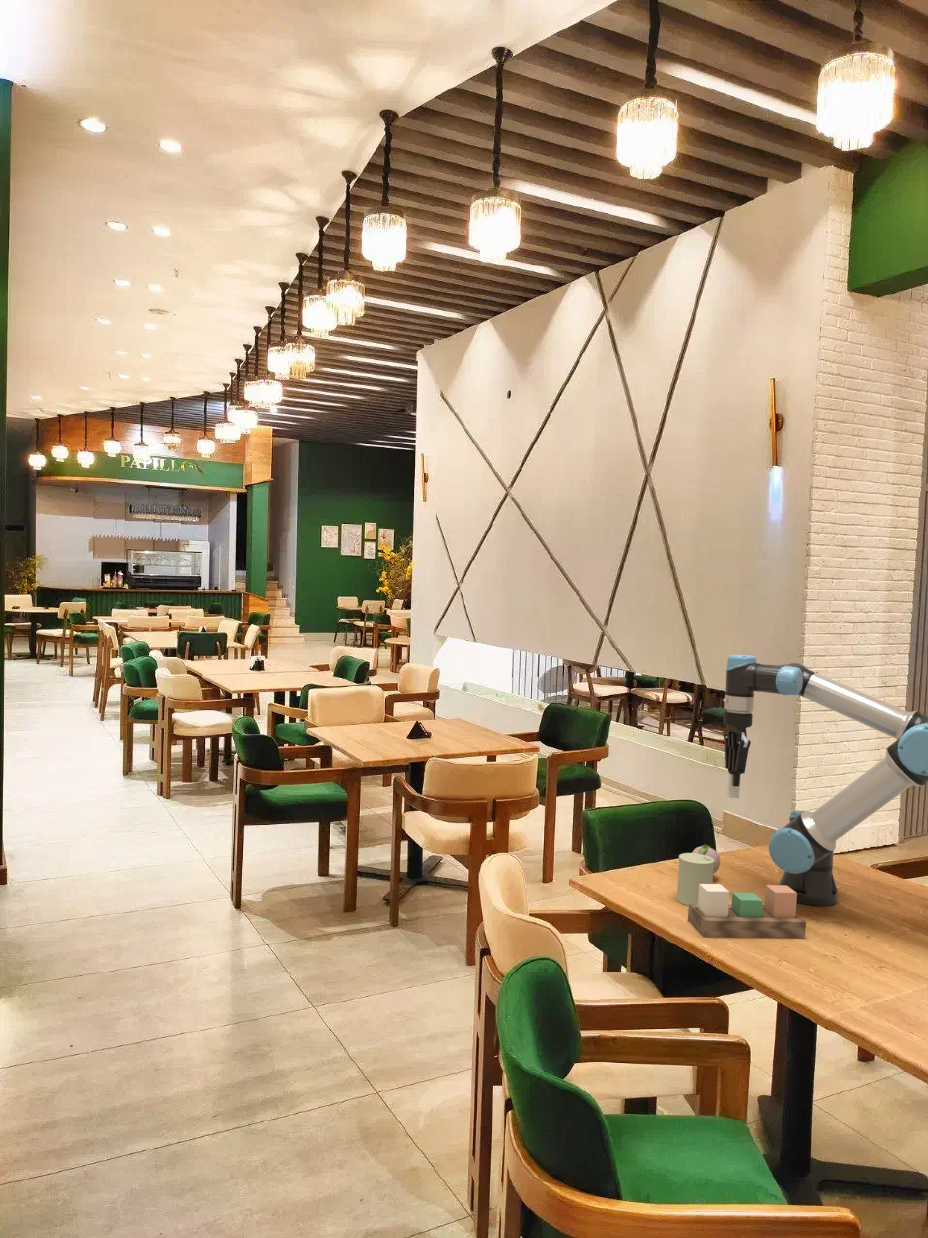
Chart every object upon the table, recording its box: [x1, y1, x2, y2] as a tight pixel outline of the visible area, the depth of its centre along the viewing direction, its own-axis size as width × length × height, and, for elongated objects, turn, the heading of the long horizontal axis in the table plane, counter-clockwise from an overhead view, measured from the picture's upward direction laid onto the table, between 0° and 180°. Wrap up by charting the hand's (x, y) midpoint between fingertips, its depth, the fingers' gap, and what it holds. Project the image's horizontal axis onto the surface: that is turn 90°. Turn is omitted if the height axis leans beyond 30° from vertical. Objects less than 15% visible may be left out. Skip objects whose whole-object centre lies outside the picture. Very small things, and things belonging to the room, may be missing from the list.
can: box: [675, 852, 714, 907], centre depth 234 cm, size 9×9×12 cm
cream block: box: [698, 883, 730, 917], centre depth 215 cm, size 5×5×7 cm
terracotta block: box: [764, 884, 797, 918], centre depth 216 cm, size 5×5×7 cm
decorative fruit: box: [691, 843, 721, 875], centre depth 254 cm, size 9×8×10 cm
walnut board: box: [687, 904, 807, 939], centre depth 216 cm, size 25×11×4 cm, turn 95°
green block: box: [730, 892, 764, 918], centre depth 215 cm, size 5×5×7 cm
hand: (733, 797), depth 241 cm, fingers closed
